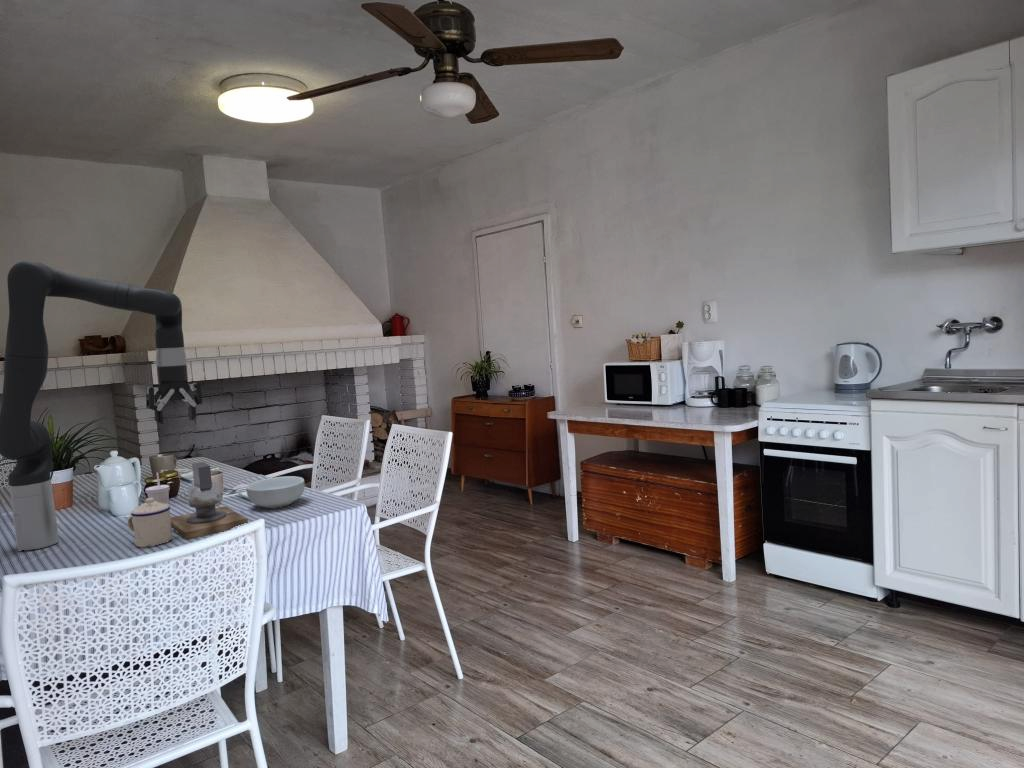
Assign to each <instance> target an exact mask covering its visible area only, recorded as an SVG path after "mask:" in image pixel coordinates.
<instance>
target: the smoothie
mask: <svg viewBox="0 0 1024 768" xmlns="http://www.w3.org/2000/svg"><path fill="white" fill-rule="evenodd" d="M159 475H160V474H159V472H156V482H157V485H153V486H149V487H146V488H145V494H147V498H153V499H154V501H158V502H160V503H165V504H168V505H169V499H170V498H169V495H170V494H169V493H170V489H171V488H170V485H169V484H161V483H160V476H159Z"/></svg>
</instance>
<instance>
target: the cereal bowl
mask: <svg viewBox="0 0 1024 768" xmlns="http://www.w3.org/2000/svg"><path fill="white" fill-rule="evenodd" d="M305 486H306V484H305V479H304V477H301V476H294V475H292V476H291V475H290V476H289V475H288V476H287V475H286V476H285V475H284V476H275V477H269V478H265V479H259V480H257V481H254V482H251V483H249V484H247V485H246V486H245V489H246V495H247V497H248V499H249V501H250V502H252V503H253V504H255V505H257V506H260V507H264V508H265V507H266V509H277V508H276V507H280V508H283V507H282V506H285V507H287V506H286V505H288V506H289V504H290V505H291V504H292V503H293V502H295V501H297V500H298V499H300V498H301V497H302V495H303V493H304V491H305Z"/></svg>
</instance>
